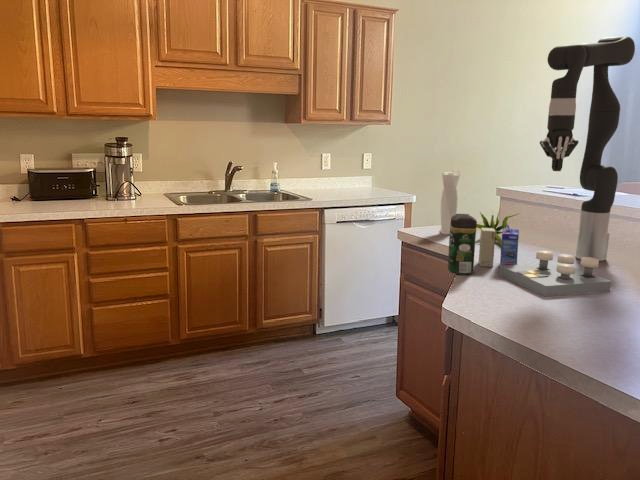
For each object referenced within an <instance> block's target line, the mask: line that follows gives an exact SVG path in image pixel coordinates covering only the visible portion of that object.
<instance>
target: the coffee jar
mask: <svg viewBox="0 0 640 480" xmlns="http://www.w3.org/2000/svg"><path fill="white" fill-rule="evenodd" d="M477 224H478V222H477V219H476V218H475V217H473V216H472V215H470V214H469V213H456V215H454V216H452V217H451V223H450V235H449V238H448V239H449V240H448V256H447V269H448V271H449V273H452V274H456V275H460V276H465V275H472V274H473V273H474V267H475V266H474V264H475V251H476V249H475V248H476V237H477V229H478V228H477Z"/></svg>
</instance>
